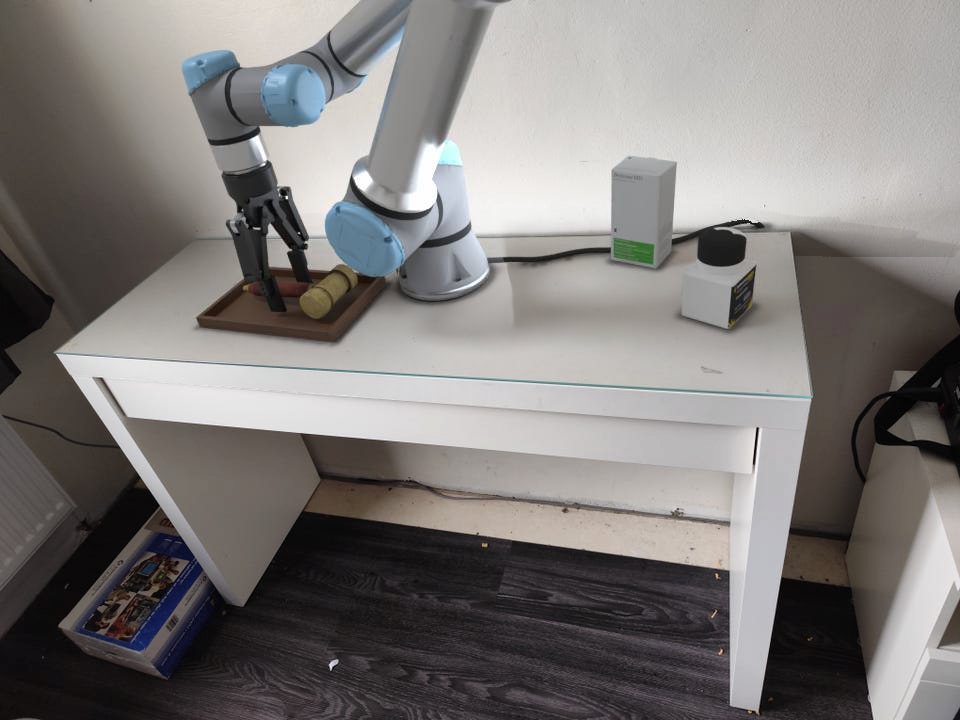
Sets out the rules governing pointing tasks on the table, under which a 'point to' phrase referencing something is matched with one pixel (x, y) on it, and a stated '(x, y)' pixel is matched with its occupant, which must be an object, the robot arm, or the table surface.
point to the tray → (289, 309)
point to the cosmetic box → (642, 210)
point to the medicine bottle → (719, 279)
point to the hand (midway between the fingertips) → (292, 297)
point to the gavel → (316, 290)
